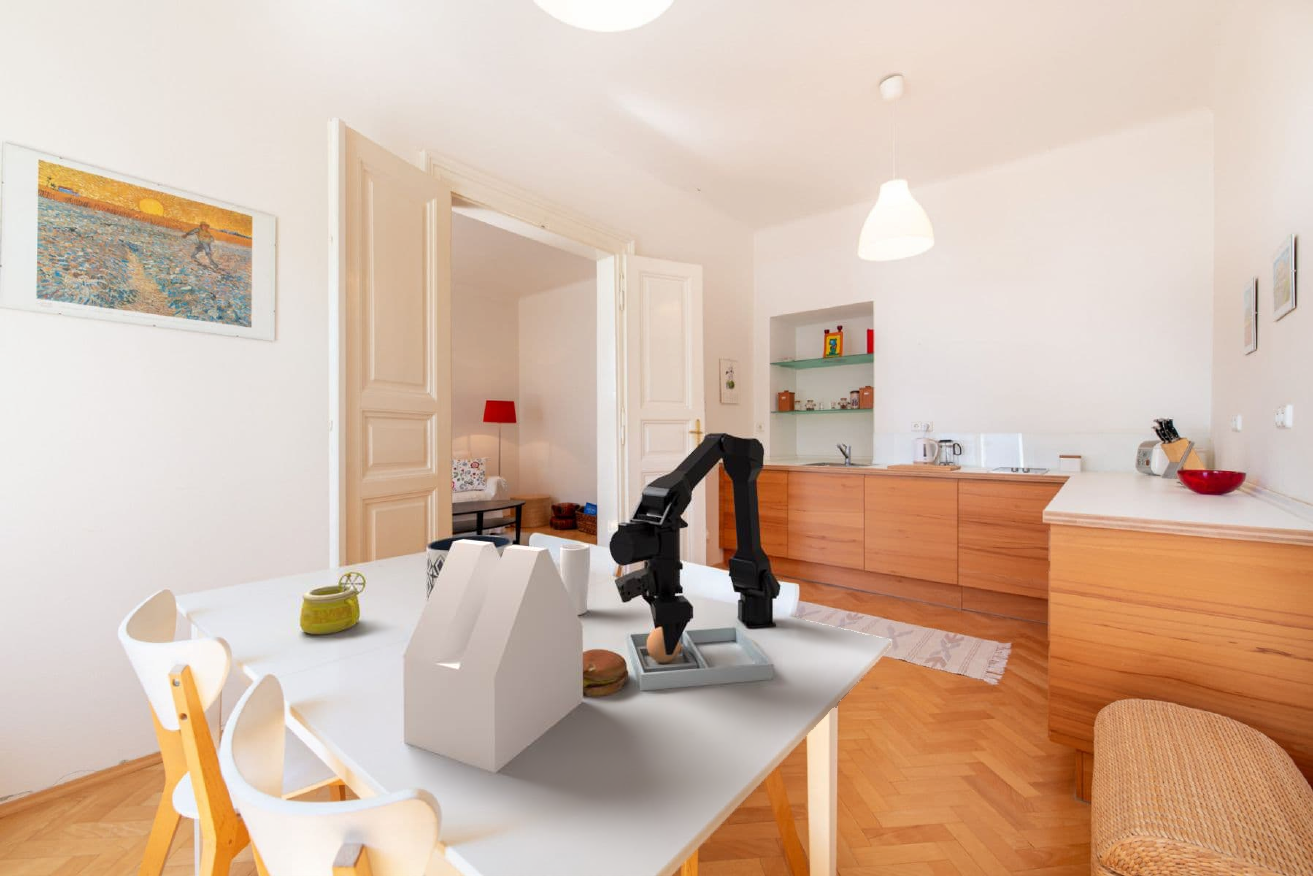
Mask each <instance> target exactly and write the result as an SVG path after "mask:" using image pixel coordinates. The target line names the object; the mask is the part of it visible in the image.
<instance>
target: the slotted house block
mask: <svg viewBox="0 0 1313 876" xmlns="http://www.w3.org/2000/svg"><path fill="white" fill-rule="evenodd" d="M422 610H423V611H422V612H421V614H420V617H419V618H418V619H419V620H418V621H417V623H416V626H415V629H414V630H413V633H412V635H411V637H410V640H409V642H408V644H407V646H406V649H405V651H404V654H403V658H402V659H403V663H402V664H403V665H402V666H403V743H405V744H408V745H411V746H413V747H417V748H420V749H423V750H425V751H428V752H431V753H435V754H438V755H441V756H443V757H447V758H450V759H452V760H455V761H458V762H461V763H463V764H467V765H469V766H473V767H476V768H477V769H478V768H479V769H481V770H484V771H488V772H489V773H490V772H491V773H493V774H496V773H497V772H499V770H501V769H502V768H503V767H505V766H506V765H507V764H508V763H509V762H510V761H512V759H514V758H515V757H517V756H518V755H519V754H520V753H521V752H523V751H524V750H525V749H526V748H528V747H529V746H530V745H531V744H532V743H534V742H535V741H536V740H537V739H538V738H540V737H541V736H542V735H544V734H545V733H546V732H548V731H549V730H550V729H551V728H552V727H554V725H556V724H557V723H558V722H559V721H561V720H562V719H563V718H564V717H566V716H567V715H568V714H569V713H570V712H572V711H573V710H574V709H576V708H577V707H578V706H579V705H581V704H582V703H583V702H584V692H583V652H584V644H583V643H584V638H583V637H584V636H583V635H584V633H583V632H584V629H583V627H584V625H583V624H582V621H581V619H580V617H579V615H577V612H576V610H575V608H574V606H573V604H572V601H571V599H570V597H569V595H568V592H567V590H566V588H565V586H564V584H563V581H562V579H561V574H560V571H559V570H558V569H557V566H556V563H555V562H554V559H553V558H552V555H551V552H550V551H549V549H548V547H547V548H546V547H538V546H529V545H528V546H527V545H521V544H513V545H512V546H508V547H505V549H504V552H503V554H502V557H500V555H499V553H498V551H497V549H496V547H495V545H494V543H492V542H483V541H474V540H464V539H463V540H458V541H454V542H453V543H452V546H451V548H450V550H449V553H448V555H447V557H446V559H445V562H444V564H443V566H442V569H441V571H440V573H439V575H438V578H437V580H436V582H435V585H434V587H433V589H432V591H431V594H430V596H429V598H428V601H427V600H426V603H425V605H424V608H423V609H422Z"/></svg>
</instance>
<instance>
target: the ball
mask: <svg viewBox="0 0 1313 876" xmlns="http://www.w3.org/2000/svg"><path fill="white" fill-rule="evenodd" d="M650 632H651V633H650V635H649V637H648V639H647V650H648V653H649V655H650V656H651V657H652V658H653V659H654V660H655V661H657V662H661V663H667V662H670V661H672V660H674V659H675V658H676V657H677V655H678V654H679V651H680V647H681V643H680V639H679V642H678V644H677V646H676V648H675V650H674V653H673V654H672V655H666V652H665V646H664V641H663V635H662V629H661V627H658V628H656V629H655V628H654V629H653V630H652V631H650Z"/></svg>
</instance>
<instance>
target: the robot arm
mask: <svg viewBox="0 0 1313 876" xmlns="http://www.w3.org/2000/svg"><path fill="white" fill-rule="evenodd" d="M764 457H765V447H764V446H763V443H762V442H760V440H759V438H758V439H757V438H755V437H753V438H752V437H751V438H750V437H747V438H746V437H745V438H743V437H739V436H734V435H731V434H728V433H725V432H711V433H708V434H706V435H705V436H704V437H703V440H702V441H701V442H700V444H698V445H697V446H696V448H694V449H693V450H692V451H691V452H690V453H689V454H688V456H687V457H686V458H684V460H683V461H682V462H680V464H679V465H678V466H677V467H676V468H675V469H674V470H673V471H671V472H670V473H668V474H665V475H662V476H660V477H657V478H656V479H654V480H653V481H651V482H650V483H648V484H647V485H646V486H645V487H644V488H643V489H642V492H641V497H640V498H639V500H638V502H637V504H636V506H635V508H634V510H633V512H632V514H631V516H630V519H629V522H625V521H624V522H619V523H617V530H616V531H615V532H614V533H613V534H612V536H611V538H610V541H609V544H608V546H609V553H610V556H611V557H612V559H613V561H614V562H615V563H616V564H617V565H619V566H622V567H624V566H629V565H632V564H633V565H634V564H636V563H642V562H643V568H641V569H637V570H634V571H632V572H629V573H627V574H624V575H621V576H619V577H617V578H616V579H615V580H614V583H615V585H616V589H617V591H618V594H619V597H620V598H621V602H622V603H624V604H625V603H628V602H630V601H632V599H635V598H637V597H639V596H641V597H642V599H643V601H645V602H646V603H647V604H648V605H649V607H650V612H651V617H652V621H653V626H654V629H656V628H658V627H661V629H662V635H663V641H664V646H665V652H666V655H672V654H673V653H674V650H675V648H676V646H677V644H678V642H679V639H680V637H681V635H682V633H683V631H684V630H686V627H687V626H688V624H689V622H691V620H692V619H694V605H693V604H692V603H691V602H690V601H689V599H687V598H686V597H685V596H684V595H676V594H683V593H684V588H683V586H682V585H681V570H684V564H683V562H682V561H681V529H685V528H688V527H689V524H688V522H687V521H686V520H684V519H683V518H682V515H683V514H684V512H686V509H687V508H688V507H689V505H690V504H691V502H692V499H693V498H692V497H693V490H695V488H696V487H697V486H698V485H699V484H700V483H701V481H702V480H703V479H704V478H705V477H706V476H707V475H708V474H709V473H710V472H711V470H712V469H714V467H715V466H716V465H717V464H718V463H719V461H720V460H722V464H723V465H722V466H723V469H724V471H725V473H726V474H727V476H728V477H729V479H730V480H731V483H732V493H733V506H734V509H733V510H734V520H735V533H736V534H735V535H736V550H735V551H734V554H733V556H732V557H729V558H728V561H727V563H728V569H729V572H728V577H730V580H731V584H732V589H733V591H734V593H739V595H740V596H739V597H740V599H738V600H737V619H738V620H739V621H740V622H741V623H742V624H743V625H744V627H745V628H747V629H755V628H766V627H768V628H769V627H776V626H777V623H776V622H775V621H774V618H773V617H774V609H773V608H774V603H773V601H774V599H778V597H779V596H780V591H781V584H780V582H779V581H778V580H777V578H776V577H775V575H774V574H773V572H772V568H771V567H772V566H771V561H770V558H769V557H768V555H767V553H766V552H765V551H764V549H763V548H762V543H761V527H760V514H759V513H760V512H759V497H758V483H757V481H758V477H759V476H760V474H761V472H762V470H763V468H764Z"/></svg>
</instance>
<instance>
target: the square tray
mask: <svg viewBox="0 0 1313 876" xmlns="http://www.w3.org/2000/svg"><path fill="white" fill-rule="evenodd" d="M635 649H636V652H637V655H638V658H639V660H640V663H641V666H642V669H643V671H644V673H650V672H662V671H674V670H687V669H698V665H697V663H696V662H695V660H694V658H693V657H692V655H691V653H690V652H689V650H688V648H687V647H686V645H685V643H684V644H681V647H680V651H679V654H678V655H677V657H676V658H675V659H674V660H672V661H670V662H667V663H661V662H657V661H655V660H654V659H653V658H652V657H651V656H650V655H649V653H648V650H647V646H643V647H635Z"/></svg>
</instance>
